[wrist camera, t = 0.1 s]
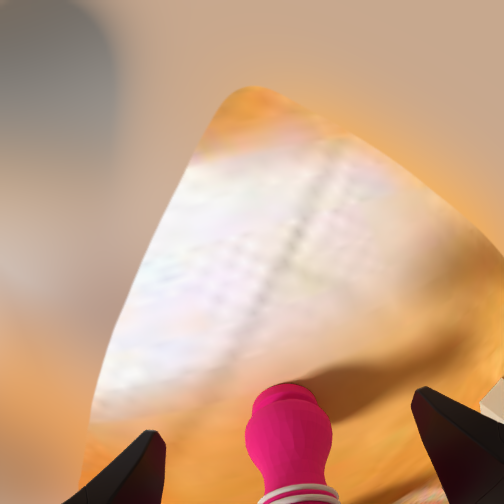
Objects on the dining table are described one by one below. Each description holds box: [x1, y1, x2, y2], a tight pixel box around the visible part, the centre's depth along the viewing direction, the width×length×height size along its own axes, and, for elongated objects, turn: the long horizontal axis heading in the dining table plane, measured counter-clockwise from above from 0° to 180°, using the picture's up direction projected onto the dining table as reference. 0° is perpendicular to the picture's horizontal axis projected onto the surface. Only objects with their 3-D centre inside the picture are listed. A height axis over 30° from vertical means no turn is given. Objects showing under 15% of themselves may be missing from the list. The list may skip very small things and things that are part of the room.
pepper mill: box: [245, 384, 341, 504], centre depth 13 cm, size 7×7×20 cm
